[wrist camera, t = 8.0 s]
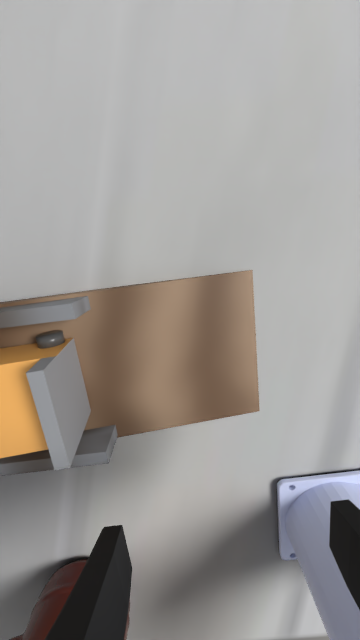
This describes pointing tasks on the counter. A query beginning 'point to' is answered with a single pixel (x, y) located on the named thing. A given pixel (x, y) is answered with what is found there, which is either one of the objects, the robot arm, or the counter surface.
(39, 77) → the counter surface
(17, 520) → the counter surface
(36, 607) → the mug
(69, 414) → the orange block with knobs
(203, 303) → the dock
